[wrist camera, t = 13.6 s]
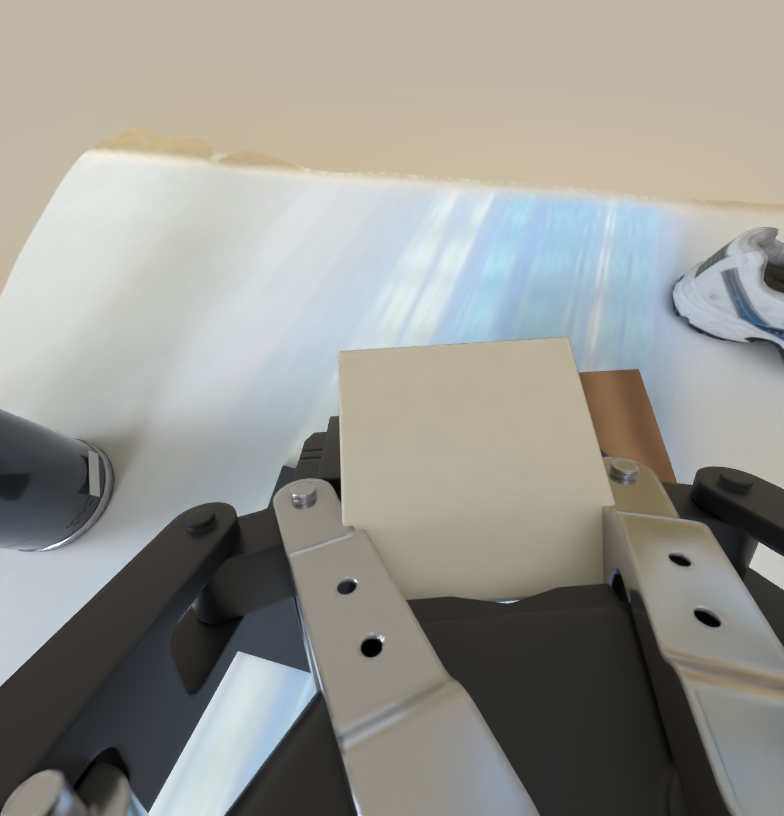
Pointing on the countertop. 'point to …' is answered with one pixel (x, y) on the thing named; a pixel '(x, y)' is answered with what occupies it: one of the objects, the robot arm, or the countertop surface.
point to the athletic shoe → (737, 291)
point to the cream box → (473, 467)
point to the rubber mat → (278, 621)
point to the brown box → (626, 419)
